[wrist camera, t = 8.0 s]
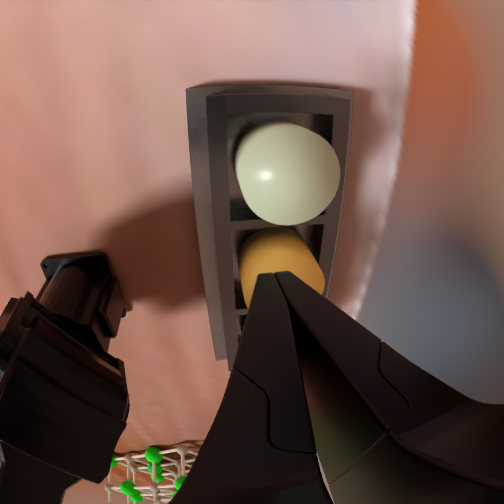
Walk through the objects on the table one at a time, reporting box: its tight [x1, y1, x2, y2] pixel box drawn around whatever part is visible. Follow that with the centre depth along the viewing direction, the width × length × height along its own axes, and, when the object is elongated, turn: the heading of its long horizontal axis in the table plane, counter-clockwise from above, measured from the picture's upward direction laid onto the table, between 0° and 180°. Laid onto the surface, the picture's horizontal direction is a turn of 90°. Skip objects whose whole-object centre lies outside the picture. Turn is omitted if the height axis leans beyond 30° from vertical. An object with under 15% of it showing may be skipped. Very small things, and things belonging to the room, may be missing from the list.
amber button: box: [237, 227, 325, 309], centre depth 19 cm, size 5×5×4 cm
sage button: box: [233, 119, 340, 225], centre depth 15 cm, size 5×5×4 cm
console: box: [186, 85, 353, 371], centre depth 21 cm, size 10×23×3 cm, turn 1°
